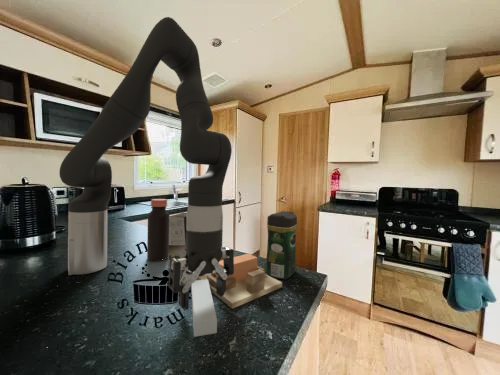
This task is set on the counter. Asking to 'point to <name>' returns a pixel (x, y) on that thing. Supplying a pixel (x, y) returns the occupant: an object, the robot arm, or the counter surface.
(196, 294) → the light grey bar
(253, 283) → the jig
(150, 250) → the bottle
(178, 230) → the coffee box
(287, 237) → the coffee jar
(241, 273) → the tall peach block
